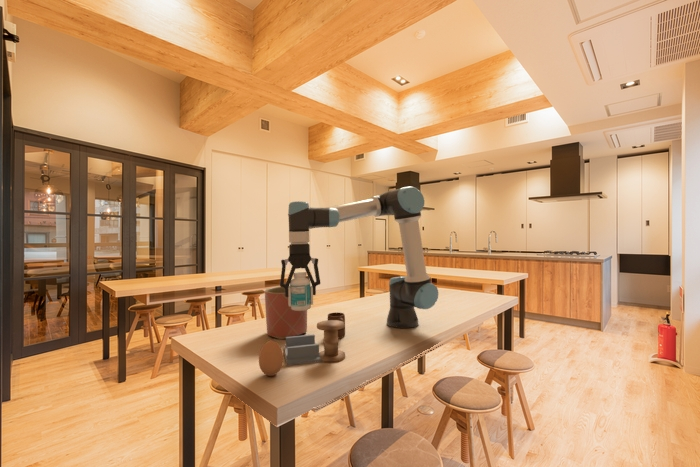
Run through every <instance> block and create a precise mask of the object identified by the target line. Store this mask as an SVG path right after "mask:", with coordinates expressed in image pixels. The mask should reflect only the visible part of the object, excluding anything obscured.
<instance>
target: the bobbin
mask: <svg viewBox="0 0 700 467" xmlns="http://www.w3.org/2000/svg"><path fill="white" fill-rule="evenodd" d="M344 326H345V327H346V323H345V324H344V322H342V321H338V320H328V319H327V320H322V321H318V322H317V323H316V328H317V329H318V330H320V331H323V345H324V346H323V347H324V349H323V350H322V351H319V353H320V354H319V355H320V356H321V359H322V363H327V364H328V363H329V364H331V363H332V364H333V363H339V362H341V361H343V360H344V359H345V358H346V352H345V351H343V350H341V349H339V338H338V330H339V329H342V328H344ZM318 357H319V356H318Z"/></svg>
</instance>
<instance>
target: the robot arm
mask: <svg viewBox="0 0 700 467" xmlns="http://www.w3.org/2000/svg"><path fill="white" fill-rule="evenodd" d="M424 207H425V197H424V195H423V193H422V192H421V190H419V189H418V188H417V187H414V186H404V187H401V188H397V189H392V190H388V191H385V192H384V193H381V194H377V195H374V196H373V195H372V196H371V197H370V198H369V199H364V200H360V201H354V202H349V203H344V204H339V205H334V206H328V207H311V206H310V204H309V202H308V201H292V202H289V204H288V213H287V216H288V242H289V243H290V244H289V245H288V246H289V248H288V249H289V255H288V258H285V259H281V260H280V263H281V271H280V272H281V274H280V281H279V287H284V288H285V296H286V297H288V305H289V306H291V288H290V287H289V286H290V282H291V280H292V279H293V278H294V273H295V272H296V269H304V270H305V272H306V276H307V277H308V279H309V280H310V293H311V306H313V305H314V296H316V295H317V289H316V287H317V286H319V285H321V279H320V273H319V258H316V257H315V258H314V257H312V256H311V252H310V249H311V246H310V243H309V242H310V229H317V228H335V227H338V226H339V223H343V222H349V221H353V220H357V219H361V218H367V217H383V216H393V217H394V221H395V222H397V223H398V226H399V232H400V239H401V245H402V251H403V258H404V264H405V271H406V275H405V276H395V277H391V278H390V279H389V283H388V284H389V285H388V288H389V310H388V314H387V317H386V325H387V326H389V327H391V328H396V329H410V328H411V329H412V328H414V327H415V328H416V327H418V325H419V318H418V316H417V311H416V309H419V310H429V309H431V308H432V307H434V306H435V305H436V303H437V302H438V299H439V290H438V287H437V286H436V285H435V284H434V283H432V278H431V276H430V274H428V273H427V268H426V261H425V257H424V256H425V255H424V250H423V249H424V248H423V242H422V237H421V236H422V234H421V229H420V222H419V220H420V219H421V217H422V213H421V212H422V211H423V208H424ZM310 262H311V263H312V264H313V270H314V275H315V276H314V277H315V280H314V277H313V275H312V272H311V270H310V267H309V266H308V265H309V264H310ZM288 263H289V264H290V265H291V269H290V272H289V274H288V276H287V279H286V280H285V275H286V269H287V265H288ZM285 281H286V282H285ZM288 287H289V288H288ZM415 308H416V309H415Z"/></svg>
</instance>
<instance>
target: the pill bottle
mask: <svg viewBox="0 0 700 467" xmlns="http://www.w3.org/2000/svg"><path fill="white" fill-rule="evenodd" d="M289 286H290V288H291V309H292V310H294V311H304V310H307V311H308V310H309V309H311V307H312V305H311V293H310V286H311V282H310V279H309V277H308V278H307V273H306V271H300V272H299V271H298V272H294V274H293V278H292V279H291V282H290V285H289Z"/></svg>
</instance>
